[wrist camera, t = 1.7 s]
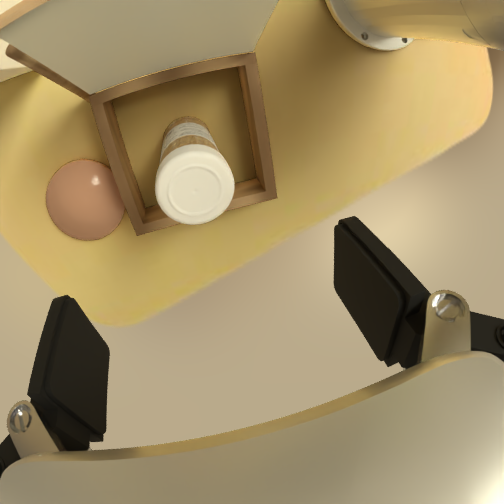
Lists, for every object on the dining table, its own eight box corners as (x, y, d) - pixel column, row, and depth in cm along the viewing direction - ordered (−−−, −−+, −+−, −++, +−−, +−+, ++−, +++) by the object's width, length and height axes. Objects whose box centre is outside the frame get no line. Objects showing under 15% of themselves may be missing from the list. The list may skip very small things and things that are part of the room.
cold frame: (237, 6, 21) (288, -38, 10) (267, 184, 32) (320, 259, 21) (76, 50, 19) (2, 45, 8) (130, 221, 31) (113, 315, 20)
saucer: (109, 146, 26) (108, 148, 25) (137, 224, 31) (136, 226, 30) (35, 177, 25) (33, 179, 24) (68, 246, 30) (67, 249, 30)
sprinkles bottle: (189, 168, 29) (200, 240, 18) (153, 142, 27) (138, 199, 16) (220, 134, 28) (252, 185, 17) (184, 105, 25) (190, 135, 15)
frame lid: (252, 51, 21) (250, 41, 20) (308, -52, 7) (301, -65, 7) (90, 94, 19) (88, 84, 19) (-7, 34, 6) (-5, 18, 6)
